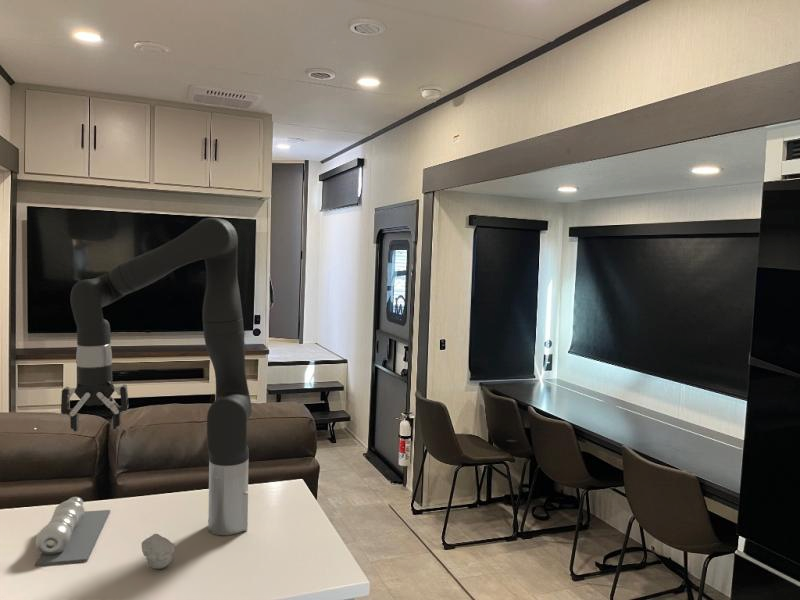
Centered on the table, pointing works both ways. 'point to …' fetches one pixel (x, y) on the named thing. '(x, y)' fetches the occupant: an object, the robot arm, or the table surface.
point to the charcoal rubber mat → (79, 540)
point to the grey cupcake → (158, 551)
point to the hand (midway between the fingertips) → (95, 429)
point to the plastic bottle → (60, 527)
